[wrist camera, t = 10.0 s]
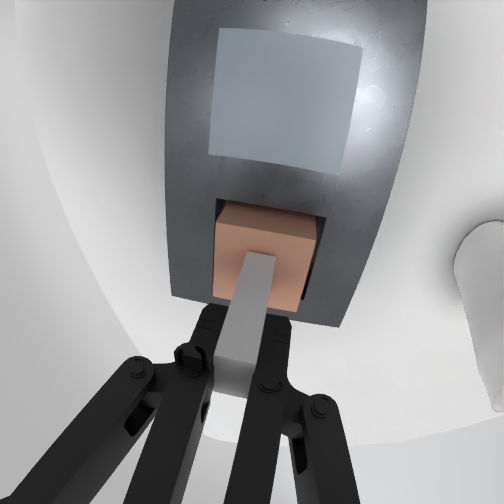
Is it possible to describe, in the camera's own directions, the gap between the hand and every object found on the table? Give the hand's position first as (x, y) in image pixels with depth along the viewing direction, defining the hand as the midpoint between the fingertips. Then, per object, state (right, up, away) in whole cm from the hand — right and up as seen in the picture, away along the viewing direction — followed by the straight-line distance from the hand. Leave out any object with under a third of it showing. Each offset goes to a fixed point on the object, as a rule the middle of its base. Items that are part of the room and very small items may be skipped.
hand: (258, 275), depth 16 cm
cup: (+19, +1, +3) cm, 19 cm away
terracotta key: (+1, +3, +4) cm, 5 cm away
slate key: (+2, +9, -2) cm, 10 cm away
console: (+2, +11, 0) cm, 11 cm away
